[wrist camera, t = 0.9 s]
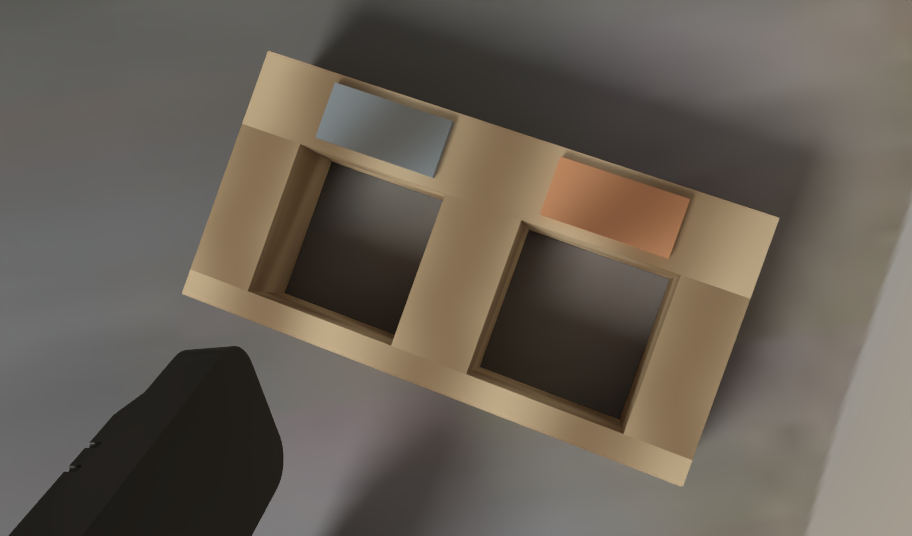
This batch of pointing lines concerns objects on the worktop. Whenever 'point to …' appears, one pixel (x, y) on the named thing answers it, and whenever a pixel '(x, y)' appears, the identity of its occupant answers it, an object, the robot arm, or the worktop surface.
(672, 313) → the socket board
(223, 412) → the robot arm
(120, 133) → the worktop surface
